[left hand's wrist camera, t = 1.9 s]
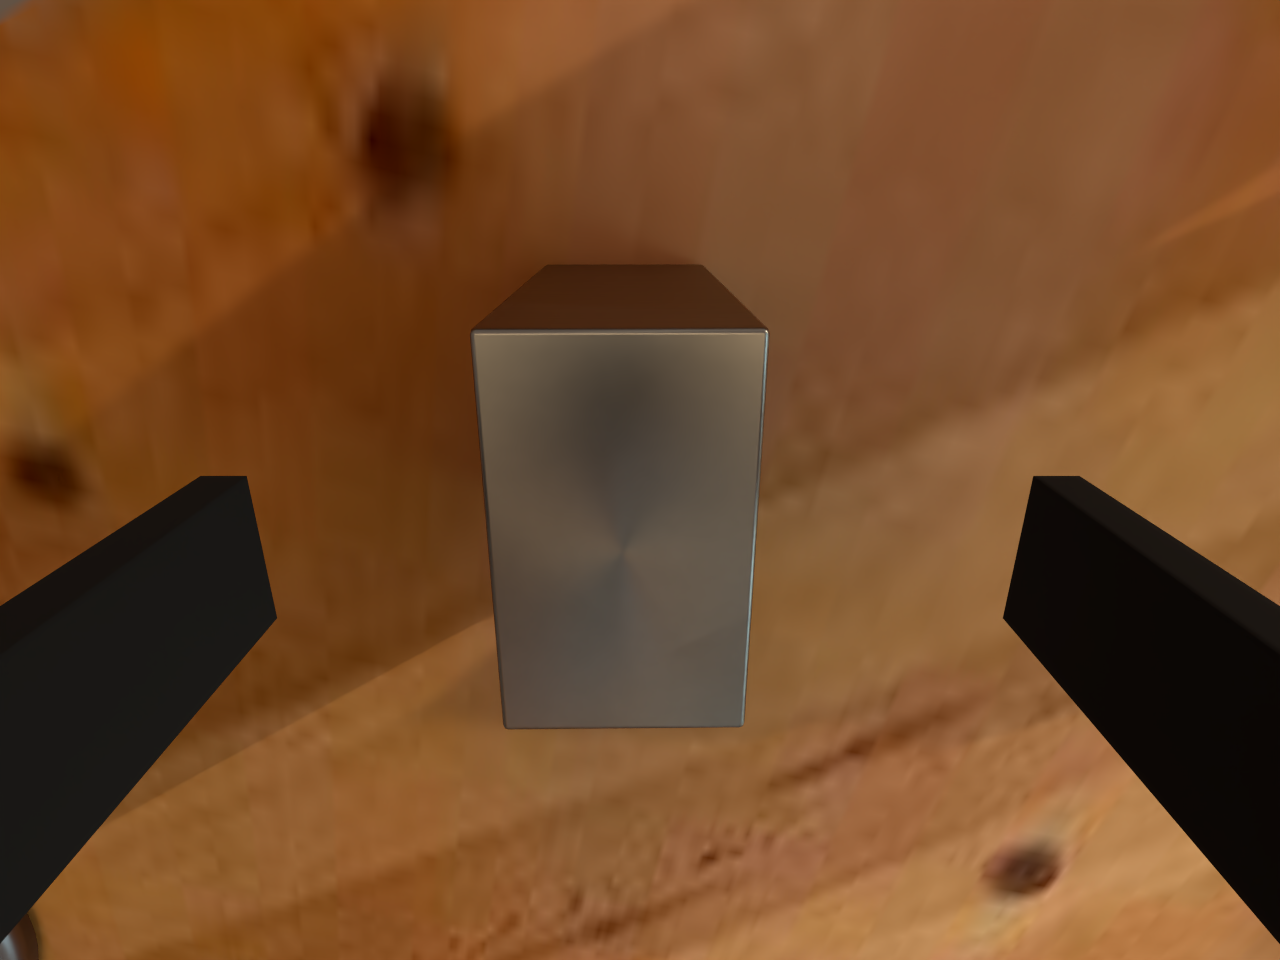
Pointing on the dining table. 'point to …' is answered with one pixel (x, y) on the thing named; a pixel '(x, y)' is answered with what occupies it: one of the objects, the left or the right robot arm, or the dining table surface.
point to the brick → (621, 495)
